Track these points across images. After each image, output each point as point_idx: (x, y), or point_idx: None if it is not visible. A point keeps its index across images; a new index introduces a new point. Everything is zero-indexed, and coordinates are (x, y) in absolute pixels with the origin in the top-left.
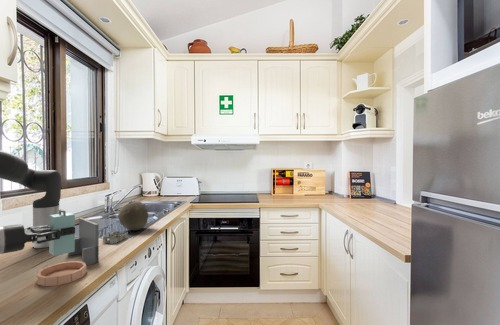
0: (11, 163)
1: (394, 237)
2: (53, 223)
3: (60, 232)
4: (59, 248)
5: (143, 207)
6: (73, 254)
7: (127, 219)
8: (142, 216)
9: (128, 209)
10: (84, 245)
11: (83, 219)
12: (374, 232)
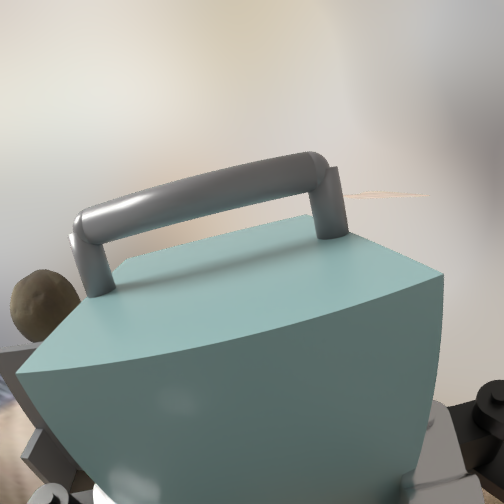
0: None
1: (391, 194)
2: (396, 422)
3: (473, 406)
4: None
5: (61, 275)
6: (70, 485)
7: (49, 319)
8: (75, 297)
9: (38, 290)
10: None
11: (19, 348)
12: (370, 197)
